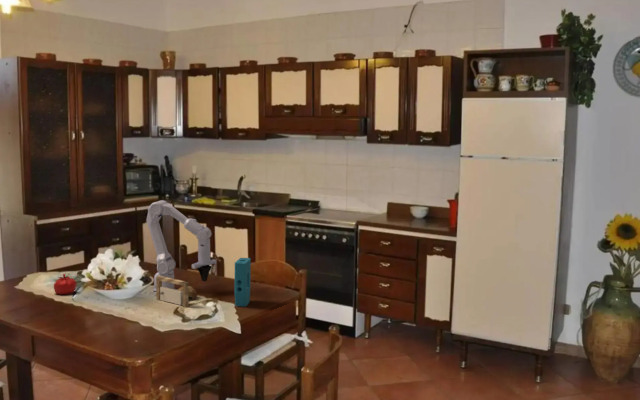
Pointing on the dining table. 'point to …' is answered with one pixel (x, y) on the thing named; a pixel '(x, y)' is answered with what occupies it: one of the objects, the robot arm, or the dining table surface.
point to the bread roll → (190, 293)
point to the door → (171, 295)
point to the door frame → (174, 281)
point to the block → (242, 281)
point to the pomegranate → (65, 285)
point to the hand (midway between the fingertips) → (204, 280)
